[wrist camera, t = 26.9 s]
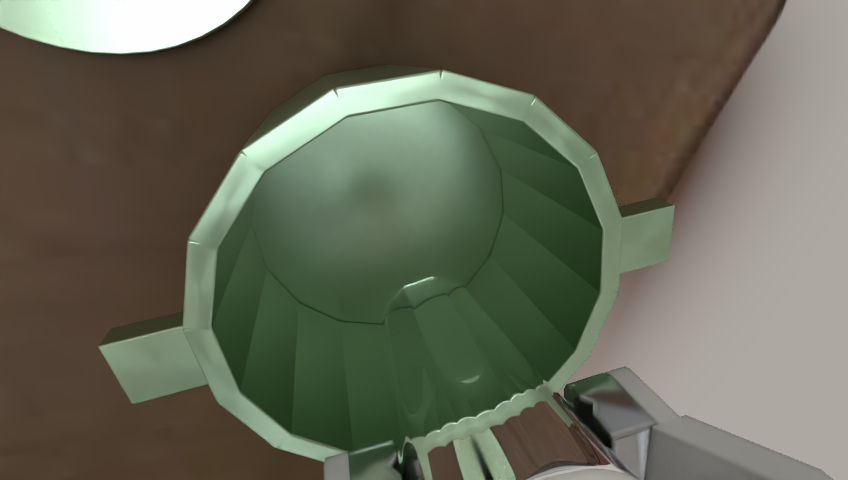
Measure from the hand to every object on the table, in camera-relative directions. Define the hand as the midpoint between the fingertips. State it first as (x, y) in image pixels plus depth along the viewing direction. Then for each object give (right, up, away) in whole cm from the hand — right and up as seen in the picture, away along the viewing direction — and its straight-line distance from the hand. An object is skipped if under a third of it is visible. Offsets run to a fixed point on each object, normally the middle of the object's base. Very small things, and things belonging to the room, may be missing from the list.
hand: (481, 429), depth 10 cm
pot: (-3, +6, +13) cm, 15 cm away
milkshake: (-1, +2, +5) cm, 5 cm away
